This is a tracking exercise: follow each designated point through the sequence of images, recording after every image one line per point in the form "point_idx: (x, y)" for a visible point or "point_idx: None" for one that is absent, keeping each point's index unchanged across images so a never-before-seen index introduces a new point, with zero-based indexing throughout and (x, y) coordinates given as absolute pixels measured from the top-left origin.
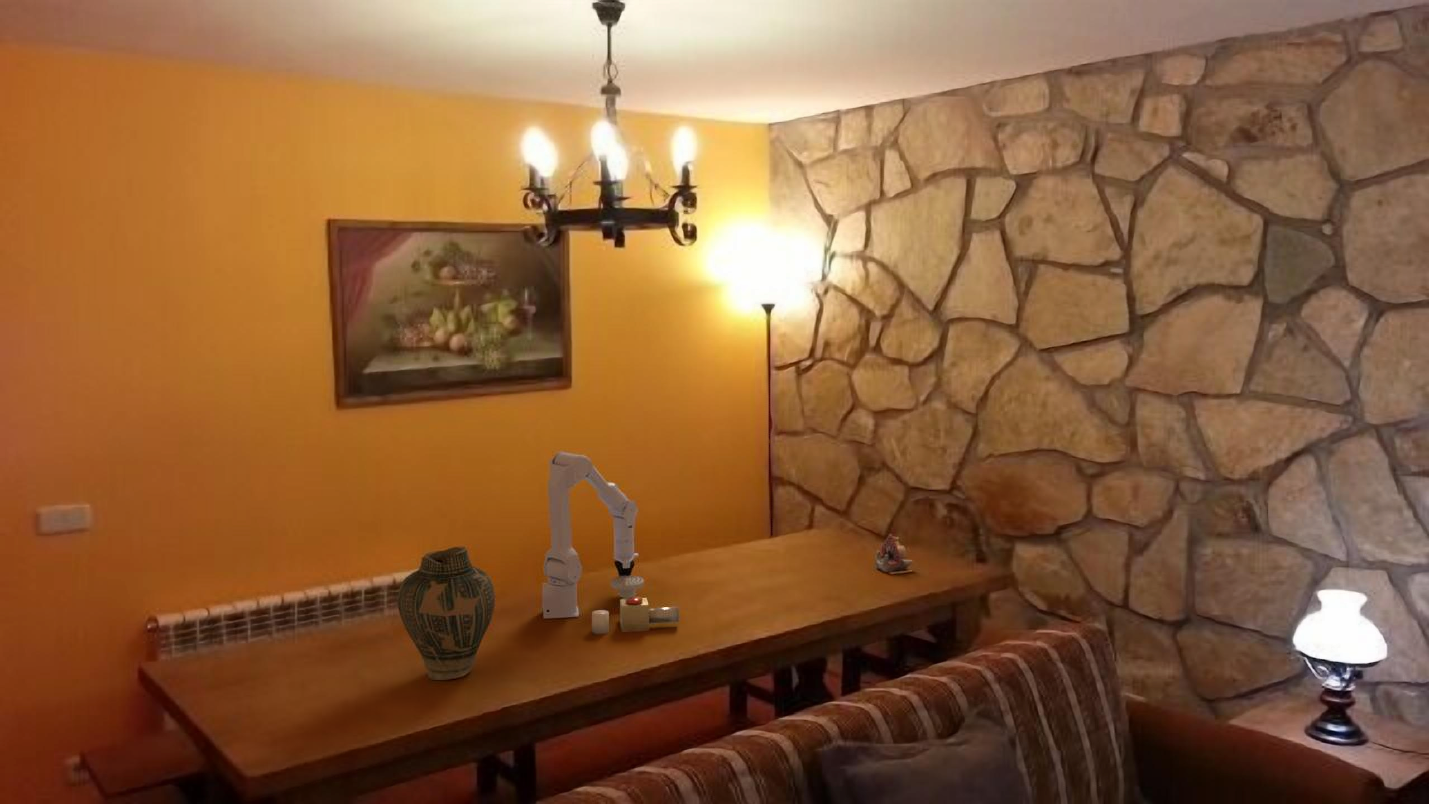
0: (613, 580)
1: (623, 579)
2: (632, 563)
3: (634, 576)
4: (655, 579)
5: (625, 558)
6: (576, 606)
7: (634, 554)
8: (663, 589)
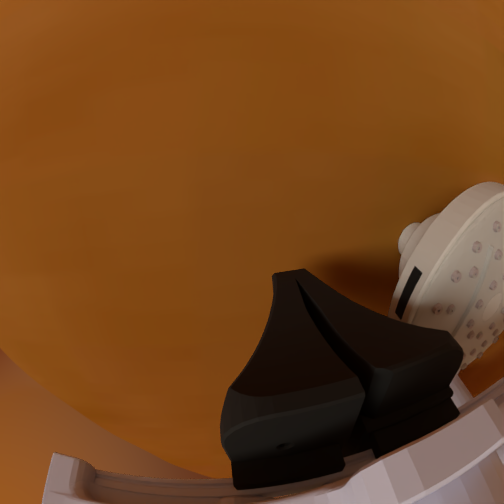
0: (466, 365)
1: (485, 325)
2: (421, 376)
3: (463, 267)
4: (6, 119)
5: (501, 445)
6: (453, 380)
7: (444, 486)
8: (194, 24)
